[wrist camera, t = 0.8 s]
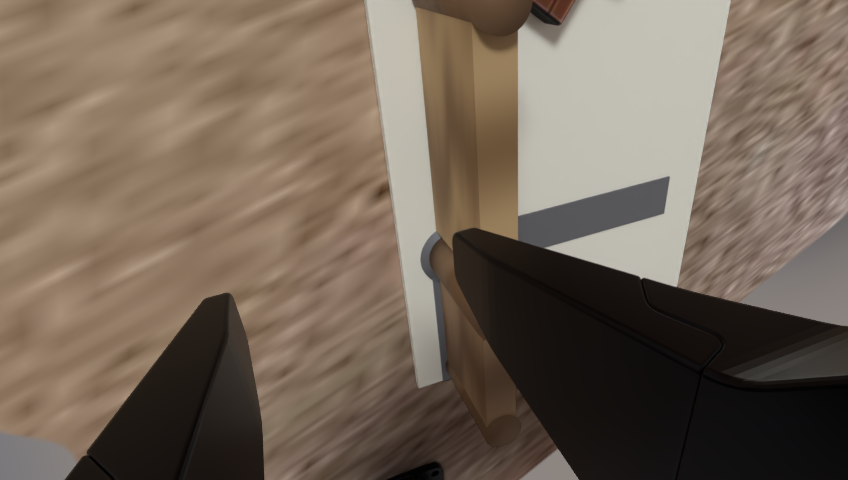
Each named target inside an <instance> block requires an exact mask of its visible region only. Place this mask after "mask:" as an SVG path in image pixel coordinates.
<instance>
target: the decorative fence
mask: <svg viewBox="0 0 848 480" xmlns="http://www.w3.org/2000/svg"><path fill="white" fill-rule="evenodd" d="M575 1H576V0H533V3H532V8H531V13H532V14H533V15H534V16H536V17H537V18H538V19H540V20H541V21H542V22H544V23H545V24H550V25H556V26H559V25H561V24H562V23H563V21H564V19H565V18H566V16H567V14H568V13H569V11H570V9H571V7H572V6H573V4H574V2H575Z"/></svg>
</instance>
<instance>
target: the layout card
mask: <svg viewBox="0 0 848 480" xmlns="http://www.w3.org/2000/svg"><path fill="white" fill-rule="evenodd" d="M730 2H731V0H576V1H575V2H574V4H573V6H572V7H571V9H570V11H569V13H568V14H567V16H566V18H565V19H564V21H563V23H562V24H561V25H559V26H556V25H550V24H545V23H544V22H542V21H541V20H540V19H538V18H537V17H536V16H534V15H533V14H532V13H531V12H530V14H529V16H528V18H527V20H526V22H525V23H524V24H523V26H522V27H521V28H520V29H519V30H518V240H519V241H522V242H526V243H529V244H532V245H536V246H539V247H542V248H546V249H549V250H553V251H556V252H559V253H563V254H566V255H569V256H573V257H576V258H580V259H583V260H586V261H590V262H593V263H597V264H600V265H603V266H607V267H610V268H613V269H617V270H620V271H624V272H627V273H630V274H634V275H637V276H639V277H640V278H641V279H642V278H648V279H651V280H654V281H657V282H661V283H664V284H668V285H671V286H675V287H677V283H678V278H679V273H680V267H681V262H682V257H683V251H684V246H685V241H686V236H687V230H688V225H689V220H690V214H691V209H692V204H693V198H694V193H695V188H696V182H697V177H698V172H699V166H700V161H701V156H702V151H703V145H704V140H705V135H706V129H707V124H708V119H709V113H710V108H711V103H712V97H713V92H714V87H715V81H716V76H717V71H718V66H719V60H720V55H721V50H722V44H723V39H724V34H725V28H726V23H727V18H728V12H729V7H730ZM364 4H365V11H366V19H367V26H368V33H369V41H370V48H371V55H372V63H373V70H374V77H375V84H376V92H377V99H378V106H379V114H380V121H381V128H382V135H383V143H384V150H385V157H386V165H387V172H388V179H389V187H390V194H391V201H392V208H393V216H394V223H395V230H396V238H397V245H398V252H399V259H400V267H401V274H402V281H403V289H404V296H405V303H406V311H407V318H408V325H409V332H410V340H411V347H412V354H413V362H414V369H415V376H416V383H417V386H418V388H422V387H425V386H428V385H431V384H434V383H437V382H440V381H443V382H444V381H447V380H450V379H451V378H450V376H449V374H448V373H447V371H446V368H445V365H446V362H447V350H446V340H445V329H444V318H443V307H442V296H441V286H440V280H439V278H438V277H437V275H436V274H435V272H434V271H433V270H432V268H431V266H430V263H429V255H430V251H431V249H432V247H433V246H434V244H435V243H436V242H437V241H438V240H439V239H440V238H441V236H440V235H439V234H438V232H437V231H436V224H435V213H434V203H433V192H432V181H431V170H430V159H429V148H428V137H427V126H426V115H425V105H424V94H423V83H422V72H421V61H420V50H419V39H418V28H417V18H416V7H415V5H414V4H413V1H412V0H364Z"/></svg>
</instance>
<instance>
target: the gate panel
mask: <svg viewBox="0 0 848 480" xmlns="http://www.w3.org/2000/svg"><path fill="white" fill-rule="evenodd" d="M412 1H413V4H414V5H415V7H416V18H417V28H418V39H419V50H420V61H421V72H422V83H423V94H424V105H425V115H426V126H427V137H428V148H429V159H430V170H431V181H432V192H433V203H434V213H435V224H436V231H437V232H438V234H439V235H440V236H441V237H442V238H443V240H444V241H445V242H446V243H447V245H448V246H449V247H450V248H451V250H452V251H453V247H452V237H453V235H454V233H455V232H457V231H461V230H465V229H469V228H478V229H482V230H485V231H488V232H492V233H495V234H499V235H502V236H505V237H509V238H512V239H515V240H518V30H519V29H520V28H521V27H522V26H523V24H524V23H525V22H526V20H527V18H528V16H529V14H530V12H531V8H532V3H533V0H412Z"/></svg>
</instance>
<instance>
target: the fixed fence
mask: <svg viewBox="0 0 848 480" xmlns="http://www.w3.org/2000/svg"><path fill="white" fill-rule="evenodd" d="M429 263H430V266H431V268H432V270H433V271H434V272H435V274H436V275H437V277H438V278H439V280H440V286H441V296H442V307H443V318H444V329H445V340H446V350H447V362H446V365H445V368H446V371H447V373H448V374H449V376H450V378H451V380H452V381H453V383H454V385H455V387H456V388H457V390H458V392H459V394H460V395H461V397H462V399H463V401H464V403H465V404H466V406H467V408H468V410H469V411H470V413H471V415H472V417H473V418H474V420H475V422H476V424H477V425H478V427H479V429H480V431H481V433H482V434H483V436H484V438H485V440H486V441H487V443H488V444H489V445H490V446H492V447H500V446H504V445H506V444H508V443H510V442H511V441H513V440H514V439H515V438H516V437H517V435H518V434H519V432H520V429H521V424H520V422H519V420H518V419H517V417H516V385H515V384H514V382H513V381H512V379H511V378H510V376H509V375H508V373H507V372H506V370H505V369H504V367H503V366H502V365H501V363H500V362H499V360H498V359H497V357H496V355H495V354H494V352H493V351H492V349H491V348H490V346H489V344H488V342H487V340H486V338H485V336H484V334H483V333H482V331H481V329H480V327H479V325H478V323H477V321H476V319H475V317H474V315H473V313H472V311H471V309H470V307H469V305H468V303H467V301H466V299H465V297H464V295H463V293H462V291H461V289H460V287H459V285H458V283H457V280H456V277H455V272H454V260H453V251H452V250H451V248H450V247H449V246H448V245H447V243H446V242H445V241H444V240H443V238H442V237H441V238H440V239H439V240H438V241H437V242H436V243H435V244H434V246H433V247H432V249H431V251H430V255H429Z"/></svg>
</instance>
